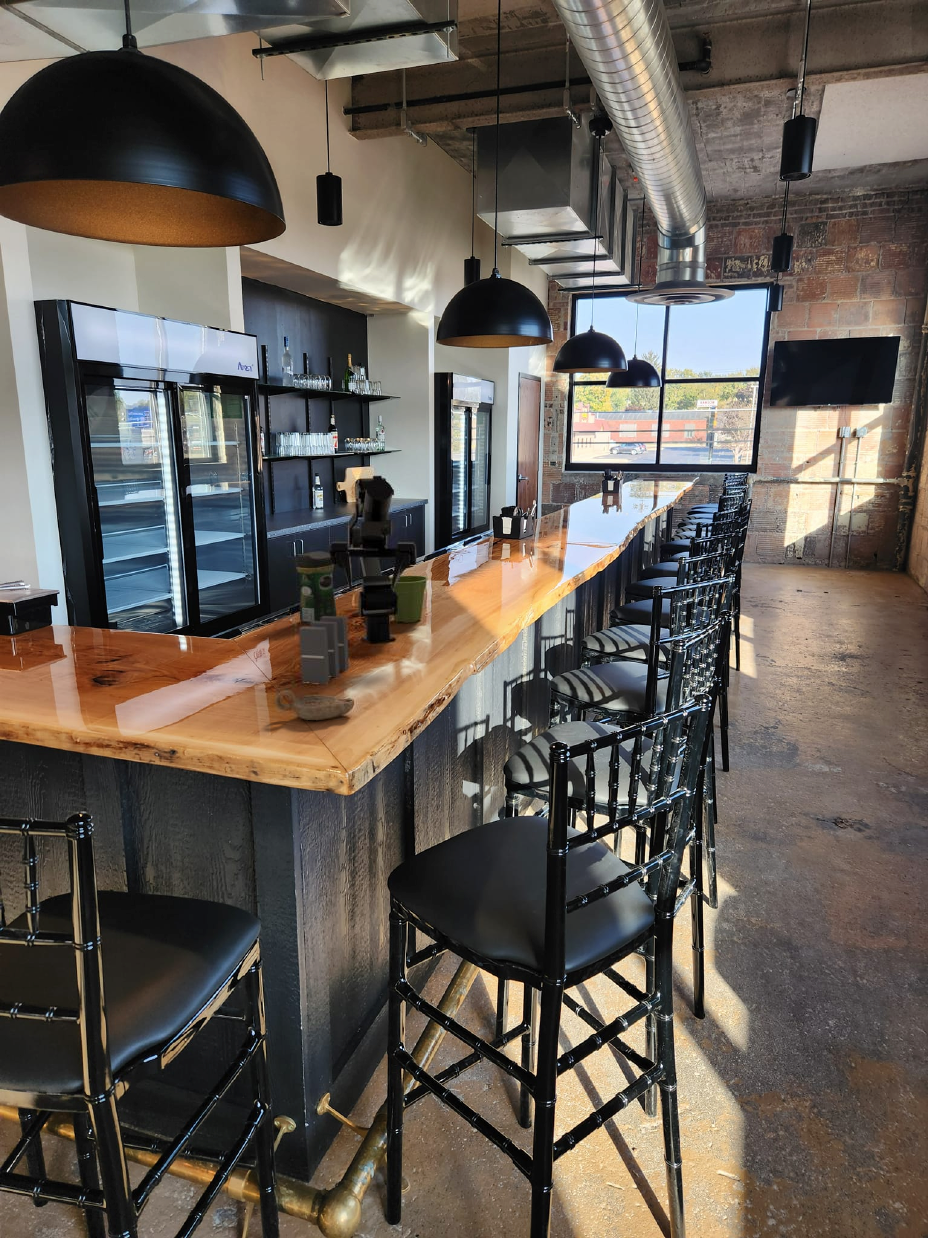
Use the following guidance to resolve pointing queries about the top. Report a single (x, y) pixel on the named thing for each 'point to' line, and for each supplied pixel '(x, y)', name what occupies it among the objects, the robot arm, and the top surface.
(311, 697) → the oil lamp
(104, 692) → the top surface
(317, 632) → the domino
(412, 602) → the plant pot
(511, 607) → the top surface
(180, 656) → the top surface
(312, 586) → the coffee jar
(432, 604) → the top surface
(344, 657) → the domino
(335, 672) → the domino
